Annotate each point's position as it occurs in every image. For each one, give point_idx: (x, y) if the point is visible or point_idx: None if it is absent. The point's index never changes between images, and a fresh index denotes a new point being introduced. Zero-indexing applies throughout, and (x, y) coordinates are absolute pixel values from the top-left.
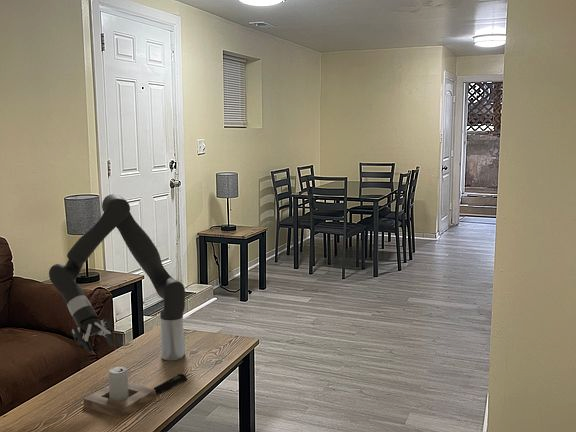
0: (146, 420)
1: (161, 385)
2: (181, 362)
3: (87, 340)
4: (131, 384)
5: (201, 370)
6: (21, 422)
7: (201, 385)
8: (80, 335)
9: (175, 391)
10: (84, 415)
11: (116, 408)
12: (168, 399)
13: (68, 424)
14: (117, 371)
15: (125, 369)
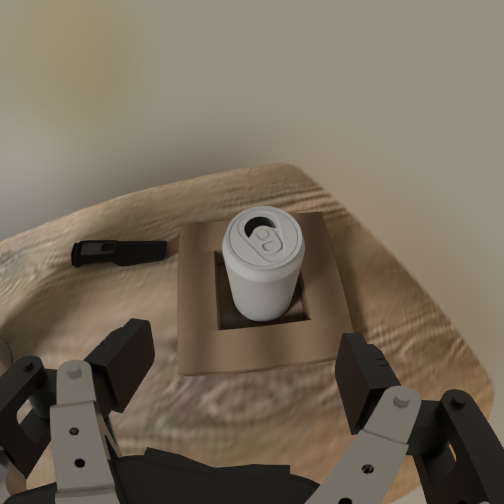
0: (283, 184)
1: (144, 241)
2: (12, 325)
3: (388, 392)
4: (185, 306)
5: (35, 257)
6: (475, 388)
7: (95, 208)
8: (464, 445)
9: (136, 227)
10: (372, 309)
11: (324, 224)
12: (179, 212)
13: (417, 299)
14: (273, 228)
15: (238, 219)
